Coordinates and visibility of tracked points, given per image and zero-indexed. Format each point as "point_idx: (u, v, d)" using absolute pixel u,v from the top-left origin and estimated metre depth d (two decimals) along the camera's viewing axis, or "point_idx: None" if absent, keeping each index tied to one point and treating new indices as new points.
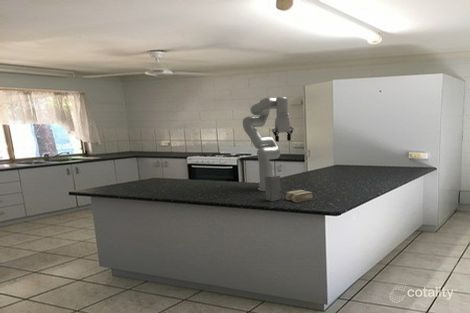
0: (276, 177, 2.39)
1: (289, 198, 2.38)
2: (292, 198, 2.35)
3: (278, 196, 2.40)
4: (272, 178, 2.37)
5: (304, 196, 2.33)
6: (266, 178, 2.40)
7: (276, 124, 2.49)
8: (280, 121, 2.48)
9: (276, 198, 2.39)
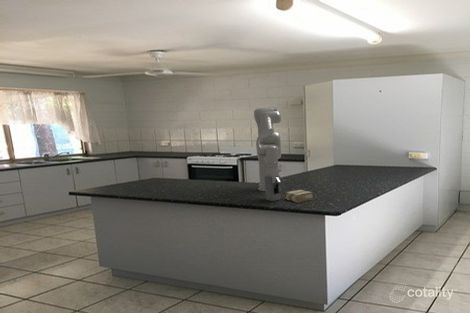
0: None
1: (289, 198, 2.38)
2: (293, 198, 2.35)
3: (278, 196, 2.40)
4: None
5: (304, 196, 2.33)
6: (266, 178, 2.40)
7: (276, 174, 2.36)
8: None
9: (276, 198, 2.39)
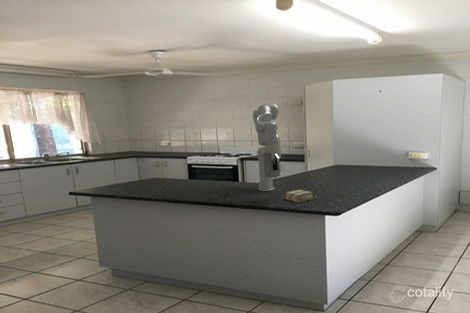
0: None
1: (289, 198, 2.38)
2: (293, 198, 2.35)
3: (277, 172, 2.39)
4: None
5: (304, 196, 2.34)
6: (265, 155, 2.39)
7: (275, 151, 2.35)
8: None
9: (274, 175, 2.38)
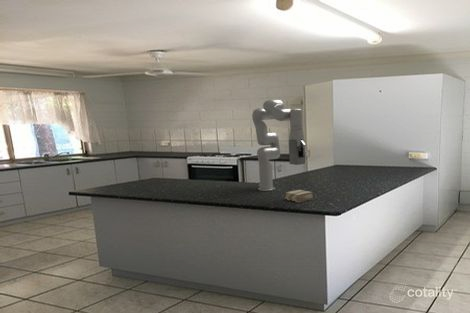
0: None
1: (289, 198, 2.38)
2: (293, 198, 2.34)
3: (302, 160, 2.35)
4: None
5: (304, 196, 2.34)
6: (290, 142, 2.35)
7: (301, 137, 2.31)
8: None
9: (300, 162, 2.34)
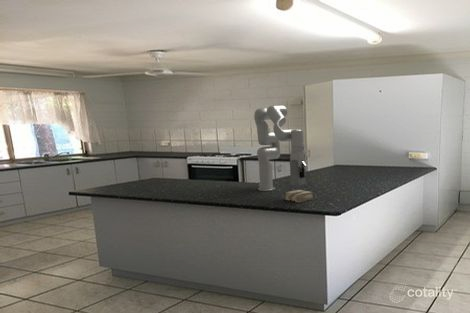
0: None
1: (289, 198, 2.38)
2: (293, 198, 2.34)
3: (303, 180, 2.36)
4: None
5: (304, 196, 2.34)
6: (291, 162, 2.36)
7: (302, 158, 2.32)
8: None
9: (301, 182, 2.35)
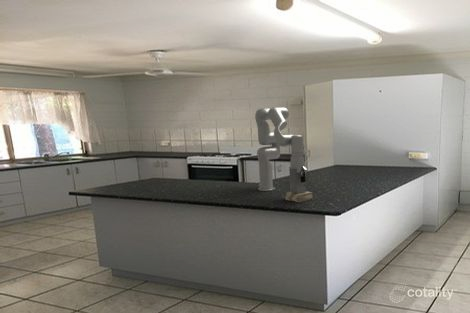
0: None
1: (289, 199, 2.37)
2: (293, 198, 2.34)
3: (302, 188, 2.37)
4: None
5: (304, 196, 2.34)
6: (291, 170, 2.38)
7: (302, 164, 2.33)
8: None
9: (300, 191, 2.36)
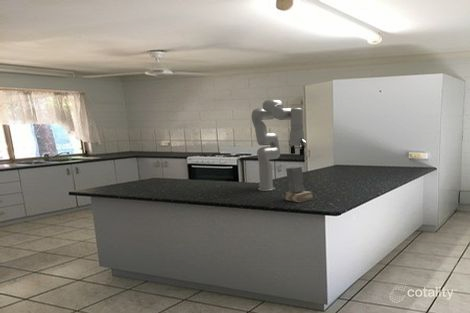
0: (297, 168, 2.37)
1: (289, 198, 2.37)
2: (294, 198, 2.34)
3: (301, 187, 2.37)
4: (293, 170, 2.35)
5: (305, 196, 2.34)
6: (287, 170, 2.38)
7: (301, 136, 2.33)
8: None
9: (298, 189, 2.37)
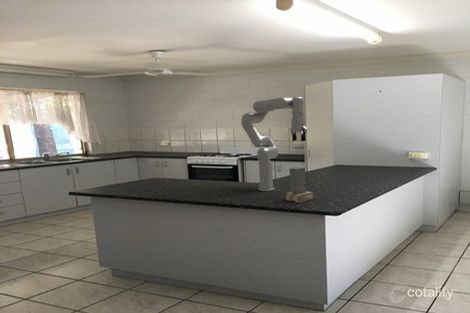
0: (301, 169, 2.35)
1: (290, 199, 2.37)
2: (294, 198, 2.34)
3: (303, 188, 2.36)
4: (297, 170, 2.33)
5: (305, 196, 2.33)
6: (291, 170, 2.37)
7: (302, 123, 2.48)
8: None
9: (300, 190, 2.35)
